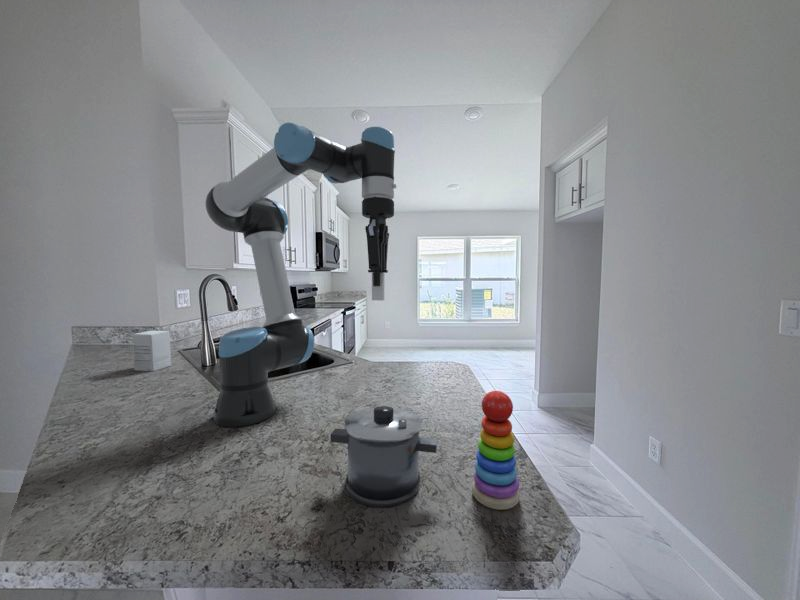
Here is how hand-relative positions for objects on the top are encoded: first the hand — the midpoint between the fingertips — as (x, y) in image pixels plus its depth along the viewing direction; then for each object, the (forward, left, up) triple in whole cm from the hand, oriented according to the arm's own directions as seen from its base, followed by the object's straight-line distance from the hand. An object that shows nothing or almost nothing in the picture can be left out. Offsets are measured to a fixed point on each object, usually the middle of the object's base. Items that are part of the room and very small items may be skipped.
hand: (378, 300), depth 78 cm
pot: (+6, -19, -32) cm, 38 cm away
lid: (+6, -19, -22) cm, 30 cm away
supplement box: (-105, +35, -33) cm, 115 cm away
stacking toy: (+26, -19, -33) cm, 46 cm away
